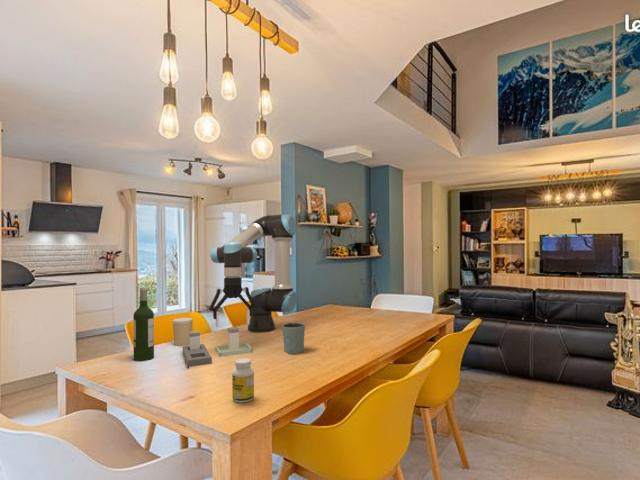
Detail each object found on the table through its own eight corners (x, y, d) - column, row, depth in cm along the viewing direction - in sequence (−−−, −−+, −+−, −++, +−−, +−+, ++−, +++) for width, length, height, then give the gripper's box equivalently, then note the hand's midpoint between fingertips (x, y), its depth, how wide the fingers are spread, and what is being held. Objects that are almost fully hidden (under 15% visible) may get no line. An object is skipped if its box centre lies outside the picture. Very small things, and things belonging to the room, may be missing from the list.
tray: (246, 347, 173) (246, 342, 173) (252, 353, 162) (252, 348, 162) (215, 351, 167) (215, 346, 167) (219, 358, 156) (219, 352, 156)
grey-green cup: (302, 348, 170) (301, 321, 171) (308, 353, 161) (307, 326, 161) (280, 350, 167) (279, 323, 167) (285, 356, 158) (285, 327, 158)
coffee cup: (196, 341, 186) (196, 317, 186) (187, 346, 176) (187, 321, 176) (178, 341, 186) (178, 317, 187) (168, 346, 177) (168, 321, 177)
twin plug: (198, 353, 164) (198, 330, 165) (200, 355, 161) (199, 332, 161) (189, 354, 163) (189, 331, 163) (190, 357, 159) (190, 333, 159)
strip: (203, 350, 169) (203, 342, 169) (211, 365, 147) (211, 355, 147) (182, 353, 165) (182, 344, 165) (187, 368, 143) (187, 359, 144)
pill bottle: (229, 397, 114) (229, 359, 115) (249, 393, 118) (249, 356, 118) (236, 405, 109) (236, 365, 109) (257, 400, 112) (256, 361, 113)
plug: (237, 349, 167) (236, 327, 168) (239, 351, 164) (238, 328, 164) (228, 350, 166) (227, 328, 166) (229, 352, 162) (229, 329, 162)
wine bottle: (135, 357, 160) (134, 287, 161) (155, 355, 163) (154, 286, 164) (131, 362, 153) (131, 289, 154) (152, 360, 155) (152, 288, 156)
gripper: (257, 275, 174) (258, 321, 173) (202, 277, 164) (202, 326, 163) (262, 276, 167) (262, 323, 167) (204, 278, 157) (204, 329, 156)
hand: (232, 325), depth 165 cm, fingers open, 13 cm apart
